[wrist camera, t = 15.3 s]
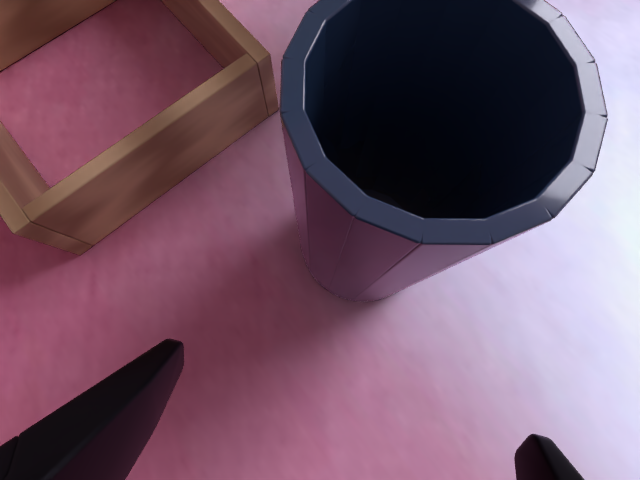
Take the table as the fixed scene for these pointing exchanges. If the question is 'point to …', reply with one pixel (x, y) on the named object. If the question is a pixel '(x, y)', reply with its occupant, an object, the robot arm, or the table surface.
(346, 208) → the tumbler
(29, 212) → the crate
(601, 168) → the table surface
